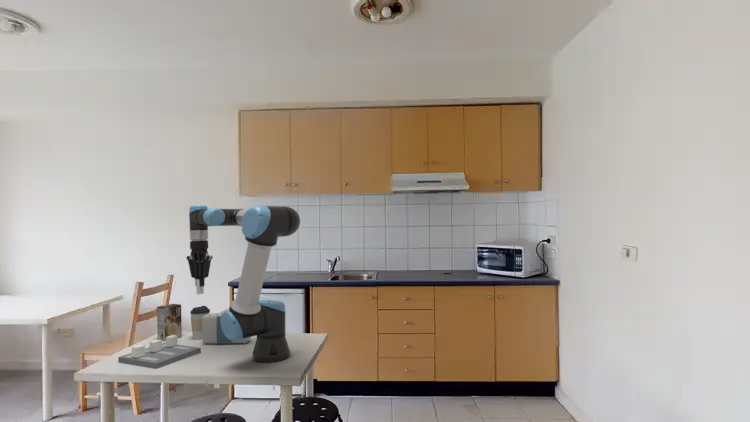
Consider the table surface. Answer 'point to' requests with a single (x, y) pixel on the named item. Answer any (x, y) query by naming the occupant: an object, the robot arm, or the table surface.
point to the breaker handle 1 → (138, 351)
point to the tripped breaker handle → (155, 345)
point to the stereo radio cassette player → (215, 330)
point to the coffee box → (169, 321)
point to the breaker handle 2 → (171, 341)
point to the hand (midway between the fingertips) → (200, 293)
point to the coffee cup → (198, 321)
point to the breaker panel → (161, 356)
